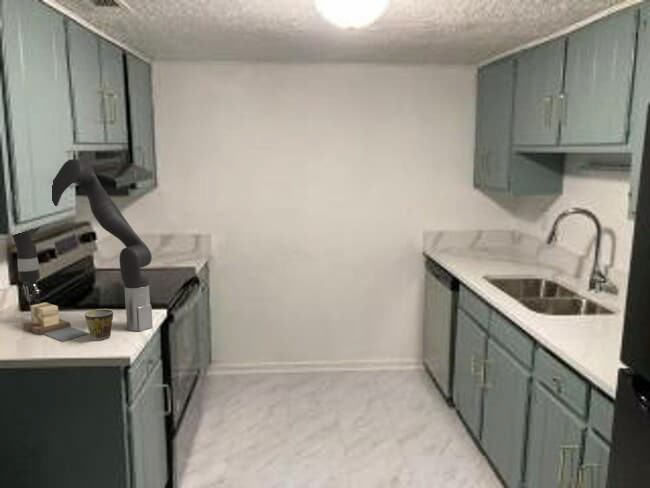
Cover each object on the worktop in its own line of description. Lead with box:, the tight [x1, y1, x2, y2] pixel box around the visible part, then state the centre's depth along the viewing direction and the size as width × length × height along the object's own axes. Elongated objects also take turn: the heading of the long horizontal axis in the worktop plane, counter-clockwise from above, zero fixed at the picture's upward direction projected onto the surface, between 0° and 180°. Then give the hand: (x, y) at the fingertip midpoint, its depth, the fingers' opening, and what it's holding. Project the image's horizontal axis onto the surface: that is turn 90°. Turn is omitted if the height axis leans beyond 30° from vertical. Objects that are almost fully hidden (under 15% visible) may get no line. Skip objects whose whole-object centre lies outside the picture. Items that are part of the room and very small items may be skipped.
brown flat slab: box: [22, 318, 72, 336], centre depth 221 cm, size 14×12×2 cm
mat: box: [43, 326, 90, 342], centre depth 214 cm, size 14×11×1 cm
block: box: [30, 301, 60, 327], centre depth 221 cm, size 10×6×7 cm, turn 53°
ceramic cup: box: [84, 308, 114, 342], centre depth 207 cm, size 13×10×10 cm
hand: (32, 309), depth 227 cm, fingers closed
